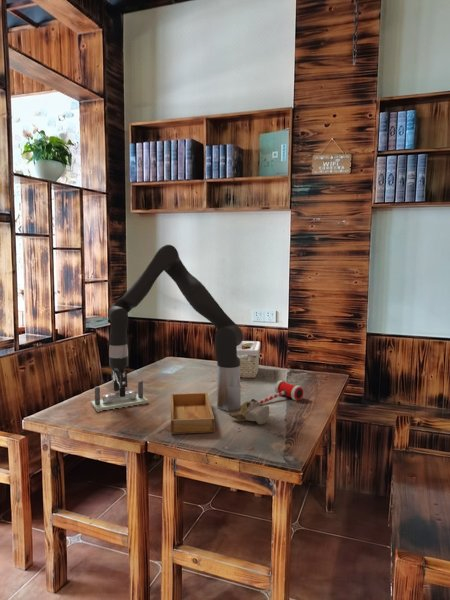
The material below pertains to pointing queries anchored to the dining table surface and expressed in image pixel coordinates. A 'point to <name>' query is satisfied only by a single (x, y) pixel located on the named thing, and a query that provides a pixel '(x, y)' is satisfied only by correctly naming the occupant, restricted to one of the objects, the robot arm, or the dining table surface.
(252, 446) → the dining table surface
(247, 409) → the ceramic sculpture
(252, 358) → the storage basket
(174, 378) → the dining table surface
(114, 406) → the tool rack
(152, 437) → the dining table surface
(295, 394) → the toy hammer
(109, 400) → the grey dumbbell
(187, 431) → the tray
